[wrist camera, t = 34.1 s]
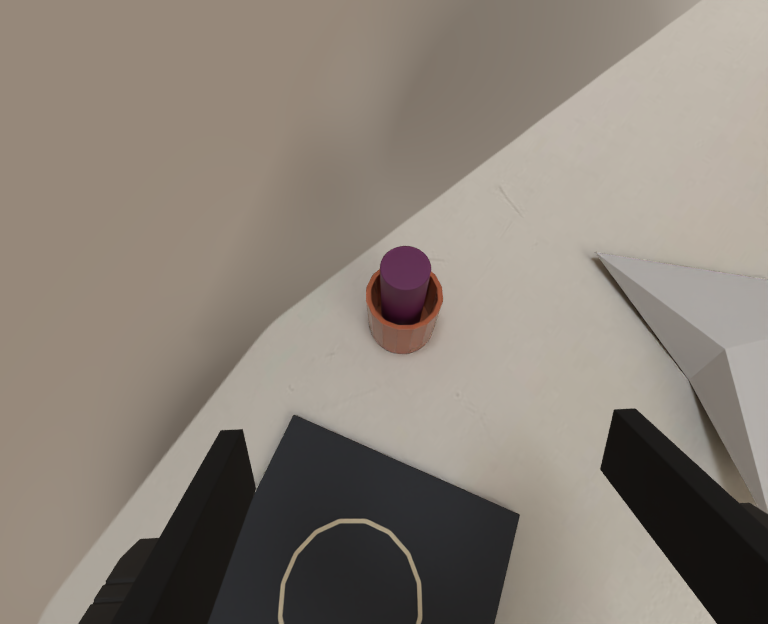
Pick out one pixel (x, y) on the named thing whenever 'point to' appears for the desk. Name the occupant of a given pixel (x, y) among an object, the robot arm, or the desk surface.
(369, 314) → the pen pot
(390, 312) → the cylinder
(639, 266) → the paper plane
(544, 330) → the desk surface
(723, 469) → the desk surface
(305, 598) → the felt pad
